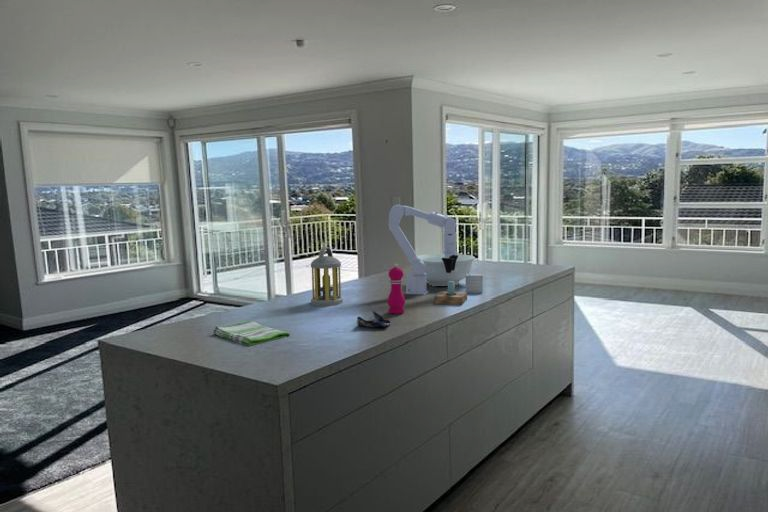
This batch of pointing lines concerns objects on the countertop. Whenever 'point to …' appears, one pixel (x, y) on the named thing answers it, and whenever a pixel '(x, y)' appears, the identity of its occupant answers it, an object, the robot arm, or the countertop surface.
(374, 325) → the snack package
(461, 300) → the socket block
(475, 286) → the medicine box
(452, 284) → the peg
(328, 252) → the lantern
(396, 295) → the pepper mill
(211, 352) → the countertop surface
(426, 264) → the bowl
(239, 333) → the dish towel
